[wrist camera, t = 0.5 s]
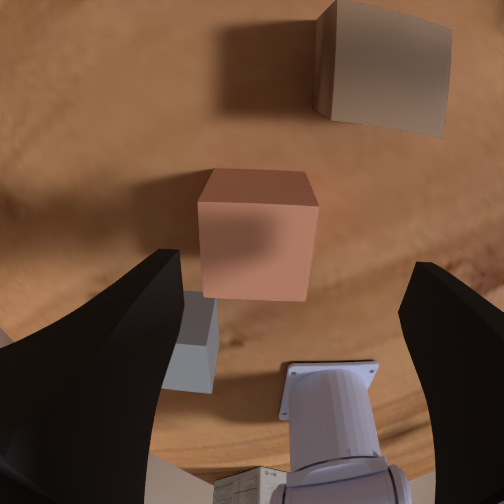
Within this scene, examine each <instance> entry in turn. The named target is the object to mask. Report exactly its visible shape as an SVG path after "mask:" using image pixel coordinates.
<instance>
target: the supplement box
mask: <svg viewBox="0 0 504 504" xmlns="http://www.w3.org/2000/svg"><path fill="white" fill-rule="evenodd" d="M286 474H287V472H282V471H278V470H273V469H269V468H265V467H258V468H255V469H252V470H249V471H247V472H244V473H240V474H237V475H234V476H230V477H227V478H224V479H220V480H216V481H215V483H214V496H213V504H270V498H271V495H272V493H273V491H274V490H275V489H276V488H277V487H278V485H279V484H286Z"/></svg>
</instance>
